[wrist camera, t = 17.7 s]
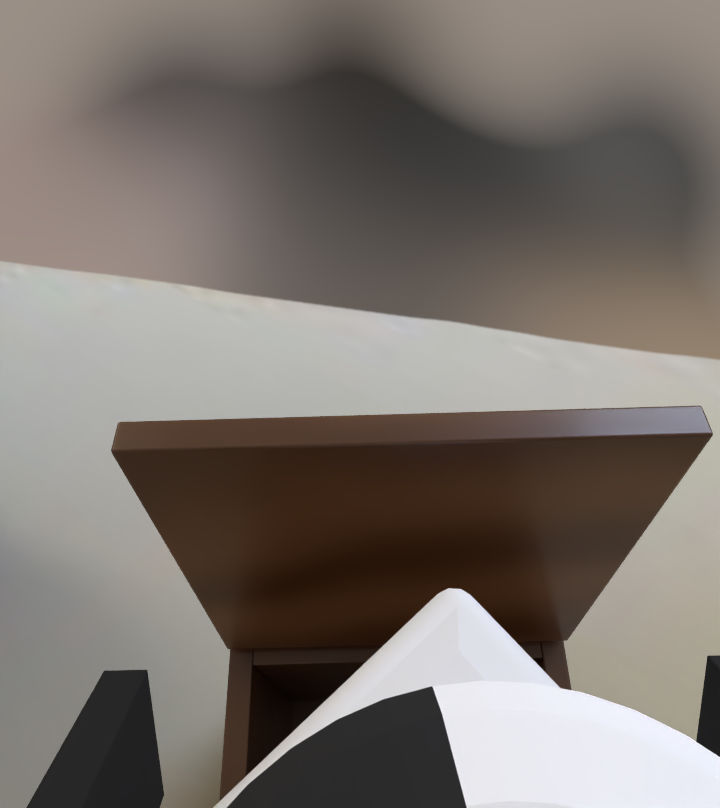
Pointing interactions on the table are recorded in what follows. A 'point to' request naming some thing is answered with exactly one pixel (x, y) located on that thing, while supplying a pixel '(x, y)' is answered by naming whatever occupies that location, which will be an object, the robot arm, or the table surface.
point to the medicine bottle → (474, 734)
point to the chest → (306, 694)
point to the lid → (404, 514)
